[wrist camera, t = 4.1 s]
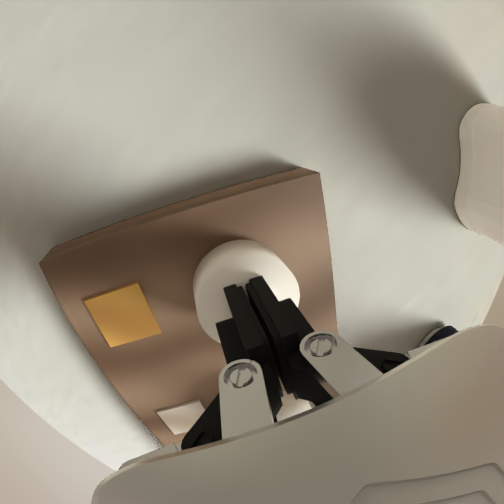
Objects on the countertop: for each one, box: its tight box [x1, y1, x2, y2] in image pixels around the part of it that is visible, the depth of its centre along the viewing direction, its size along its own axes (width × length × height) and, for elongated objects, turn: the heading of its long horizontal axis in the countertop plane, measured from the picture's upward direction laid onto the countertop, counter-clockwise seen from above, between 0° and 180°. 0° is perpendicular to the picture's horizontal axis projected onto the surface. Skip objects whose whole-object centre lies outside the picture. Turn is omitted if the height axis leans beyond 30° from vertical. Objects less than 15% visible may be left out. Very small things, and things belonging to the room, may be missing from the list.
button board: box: [39, 167, 337, 446], centre depth 19 cm, size 26×14×2 cm, turn 13°
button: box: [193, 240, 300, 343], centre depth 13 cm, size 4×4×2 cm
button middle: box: [277, 391, 312, 421], centre depth 16 cm, size 4×4×2 cm
